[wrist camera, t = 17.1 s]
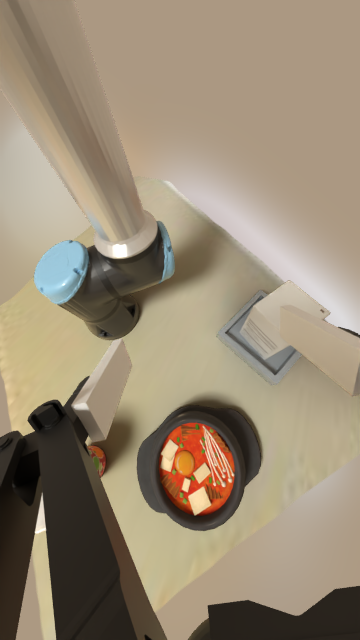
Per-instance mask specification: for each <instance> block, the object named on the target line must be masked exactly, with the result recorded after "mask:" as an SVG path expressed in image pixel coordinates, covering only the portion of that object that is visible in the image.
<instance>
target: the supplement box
mask: <svg viewBox="0 0 360 640" xmlns="http://www.w3.org/2000/svg"><path fill="white" fill-rule="evenodd" d="M285 305H292V306H294V307H296V308H298V309H301V310H303V311H305V312H307V313H309V314H311V315H313V316H315V317H317V318H319V319H321V320H323V319H324V318H325V317H327V316H328V315H329V314H330V312H329V311H328V310H327V309H325V308H324V307H323V306H321V305H320V304H319V303H318V302H316V301H315V300H314V299H312V298H311V297H310V296H309V295H308V294H306V293H305V292H304V291H303V290H301V289H300V288H299V287H298V286H297V285H295V284H294V283H293V282H291V281H290V280H288V281H287V282H285V283H284V284H283V285H281V286H280V287H279V288H277V289H276V290H274V291H273V292H272V293H270V294H269V295H268V296H266V297H265V298H263V299H262V300H261V301H259V302H258V303H257V304H255V305H254V306H253V308H252V310H251V312H250V314H249V315H248V317H247V319H246V321H245V323H244V325H243V327H242V328H241V330H240V334H241V335H242V336H243V337H244V338H245V339H246V340H247V342H248V343H249V344H250V345H251V346H252V347H253V348H254V349H255V350H256V351H257V352H258V353H259V354H260V356H261V357H262V358H263V359H264V360H266V359H268V358H269V357H271V356H273V355H274V354H276V353H278V352H279V351H281V350H283V349H285V348H286V347H288V346H290V344H289V343H287V342H286V341H285V340H284V339H283V338H281V337H280V306H285Z"/></svg>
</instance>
